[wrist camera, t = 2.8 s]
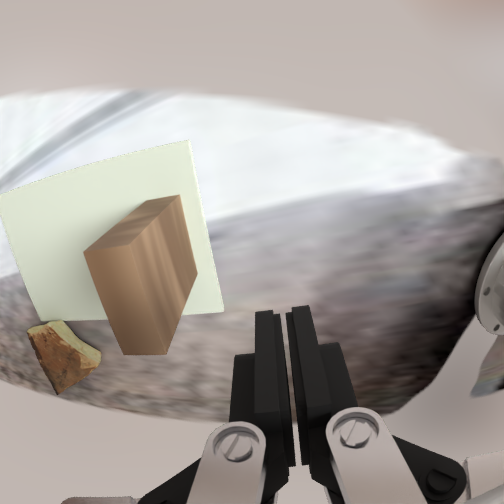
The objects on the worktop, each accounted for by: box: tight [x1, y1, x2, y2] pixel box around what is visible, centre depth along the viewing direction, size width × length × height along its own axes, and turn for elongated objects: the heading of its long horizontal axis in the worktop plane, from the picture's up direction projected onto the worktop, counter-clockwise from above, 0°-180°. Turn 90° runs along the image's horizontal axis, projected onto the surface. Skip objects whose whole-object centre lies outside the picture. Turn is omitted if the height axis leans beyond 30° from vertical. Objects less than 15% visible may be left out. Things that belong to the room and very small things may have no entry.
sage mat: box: [0, 140, 224, 321], centre depth 24 cm, size 19×13×1 cm
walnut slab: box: [83, 194, 198, 355], centre depth 18 cm, size 2×6×9 cm, turn 8°
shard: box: [27, 320, 101, 395], centre depth 28 cm, size 11×8×2 cm
